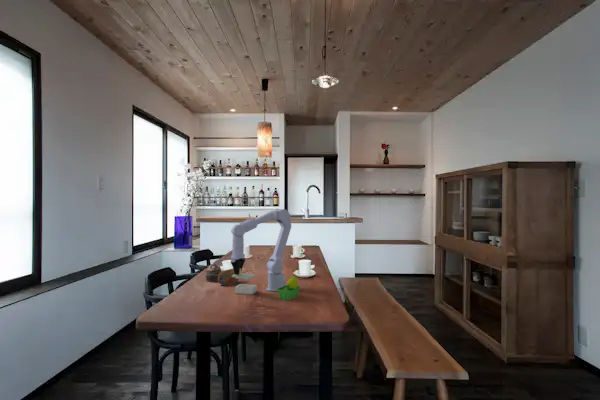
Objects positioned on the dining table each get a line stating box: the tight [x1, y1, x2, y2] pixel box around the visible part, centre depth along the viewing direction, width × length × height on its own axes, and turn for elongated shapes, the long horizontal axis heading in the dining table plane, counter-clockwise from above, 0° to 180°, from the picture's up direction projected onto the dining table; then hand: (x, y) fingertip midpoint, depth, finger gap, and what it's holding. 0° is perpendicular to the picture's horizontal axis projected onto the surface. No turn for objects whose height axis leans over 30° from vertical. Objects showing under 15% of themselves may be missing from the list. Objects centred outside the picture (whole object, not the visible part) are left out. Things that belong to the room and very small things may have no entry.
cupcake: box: [204, 263, 222, 283], centre depth 215 cm, size 10×10×10 cm
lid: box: [232, 268, 256, 281], centre depth 185 cm, size 10×7×5 cm
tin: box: [218, 268, 240, 286], centre depth 208 cm, size 15×3×8 cm, turn 143°
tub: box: [234, 283, 258, 296], centre depth 188 cm, size 10×7×4 cm
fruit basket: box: [276, 275, 301, 301], centre depth 178 cm, size 11×9×11 cm
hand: (238, 273), depth 186 cm, fingers closed on lid, 3 cm apart
